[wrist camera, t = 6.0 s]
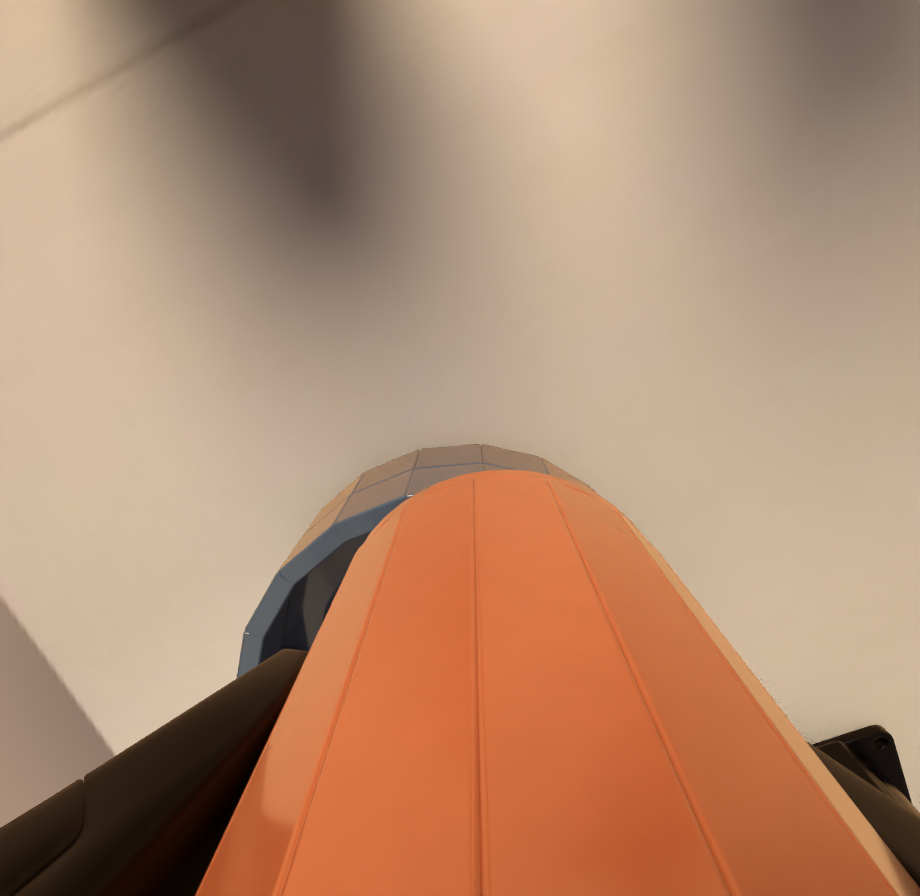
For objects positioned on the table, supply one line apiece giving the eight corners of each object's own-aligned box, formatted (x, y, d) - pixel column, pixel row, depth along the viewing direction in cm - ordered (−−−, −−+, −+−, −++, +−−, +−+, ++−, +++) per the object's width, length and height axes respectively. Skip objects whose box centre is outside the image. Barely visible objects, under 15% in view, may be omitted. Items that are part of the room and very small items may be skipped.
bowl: (686, 690, 22) (756, 812, 17) (382, 795, 24) (359, 938, 18) (569, 382, 19) (609, 412, 14) (230, 523, 21) (149, 599, 15)
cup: (709, 705, 11) (1271, 1642, 3) (417, 799, 12) (315, 1765, 4) (607, 415, 10) (1150, 843, 2) (285, 541, 10) (-262, 1229, 3)
